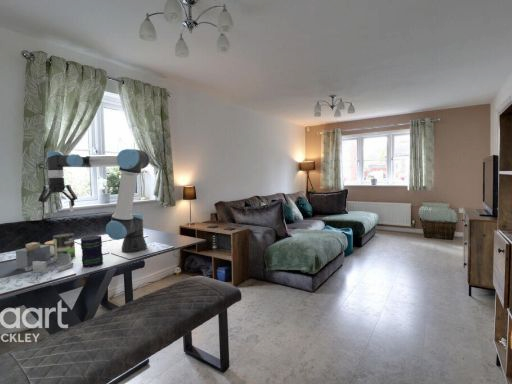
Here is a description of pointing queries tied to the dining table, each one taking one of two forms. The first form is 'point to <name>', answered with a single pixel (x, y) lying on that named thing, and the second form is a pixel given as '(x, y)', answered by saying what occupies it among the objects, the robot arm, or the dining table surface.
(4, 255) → the dining table surface
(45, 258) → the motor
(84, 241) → the storage jar
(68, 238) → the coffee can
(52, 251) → the lidded jar
